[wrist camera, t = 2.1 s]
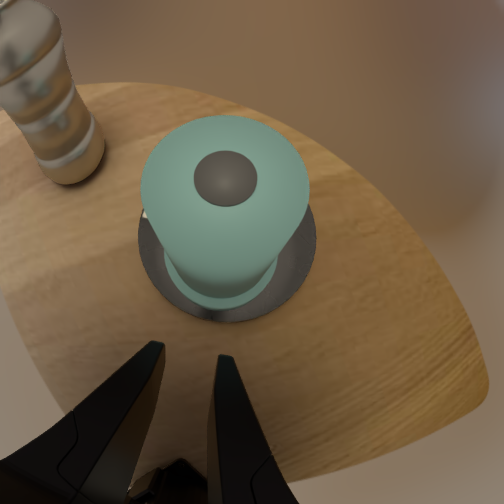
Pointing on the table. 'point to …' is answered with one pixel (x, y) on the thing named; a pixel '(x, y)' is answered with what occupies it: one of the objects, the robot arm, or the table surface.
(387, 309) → the table surface
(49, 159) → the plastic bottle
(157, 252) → the turntable
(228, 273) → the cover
